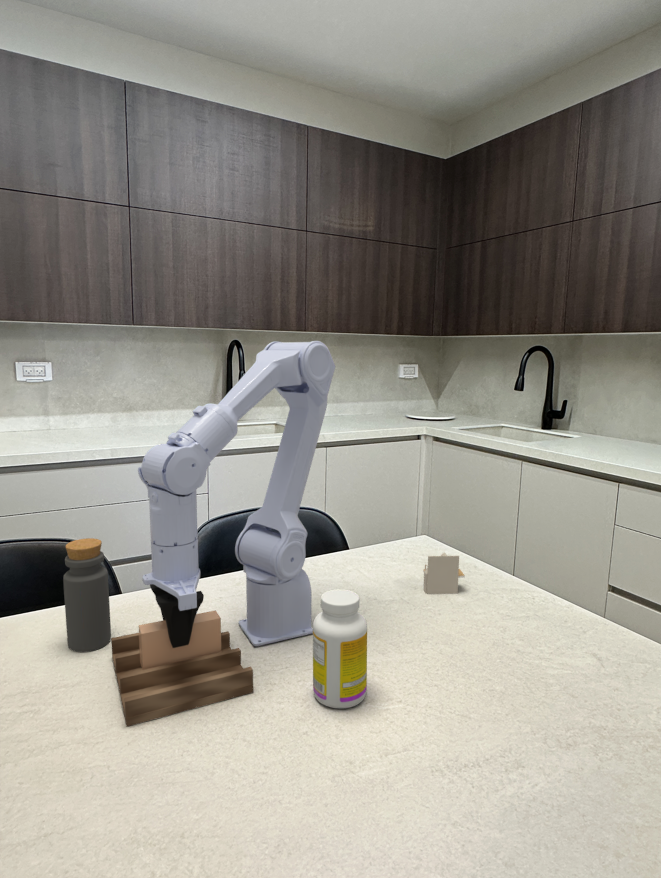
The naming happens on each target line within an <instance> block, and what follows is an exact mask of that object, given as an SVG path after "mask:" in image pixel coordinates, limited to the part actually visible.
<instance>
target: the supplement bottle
mask: <svg viewBox="0 0 661 878" xmlns="http://www.w3.org/2000/svg"><path fill="white" fill-rule="evenodd" d="M360 604H361V603H360V595H359V594H358V593H356V592H355V591H352V590H349V589H343V588H338V589H337V588H336V589H331V590H327V591H324V592H323V593H322V594H321V596H320V608H321V610H322V611H320V612H319V613H318V614H317V615H316V616H315V618H314V619H313V622H312V629H313V633H312V691H313V695H314V698H316V700H317V701H318V702H319V703H320V704H321V705H324V706H326V707H328V708H329V707H330V708H332V709H348V708H352V707H355V706H357V705H358V704H360V703H361V702H363V700H364V699H365V698H366V695H367V691H368V690H367V689H368V688H367V687H368V685H367V682H368V623H367V620H366V618H365V616H364V615H363V614H362V613H360V612H359V608H360Z"/></svg>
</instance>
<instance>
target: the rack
mask: <svg viewBox="0 0 661 878" xmlns="http://www.w3.org/2000/svg"><path fill="white" fill-rule="evenodd" d="M110 642H111V643H110V644H111V656H112V657H111V659H112V663H113V669H114V673H115V678H116V683H117V687H118V693H119V698H120V702H121V707H122V713H123V716H124V722H125V726H126V727H130V726H131V727H132V726H135V725H138V724H142V723H145V722H150V721H153V720H157V719H160V718H163V717H164V718H165V717H168V716H171V715H174V714H175V715H176V714H179V713H182V712H186V711H190V710H193V709H197V708H200V707H206V706H208V705H211V704H212V705H213V704H215V703H219V702H223V701H227V700H230V699H234V698H239V697H242V696H245V695H249V694H253V693H254V669H253V667H252V666H247V667H243V666H242V655H241V654H242V653H241V652H242V651H241V649H240V647H237V648H231V633H230V631H228V630H227V631H223V632H222V631H221V652H219V653H214V654H210V655H206V656H201V657H197V658H193V659H188V660H184V661H180V662H175V663H171V664H167V665H162V666H158V667H154V668H149V669H145V670H142V666H141V663H140V648H139V632H134V633H130V634H124V635H120V636H115V637H111V640H110Z"/></svg>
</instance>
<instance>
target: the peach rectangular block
mask: <svg viewBox="0 0 661 878" xmlns="http://www.w3.org/2000/svg"><path fill="white" fill-rule="evenodd" d="M221 620H222V618H221V617H220V614H219V613H218V612H217V610H211V611H206V612H199V613H196V616H195V619H194V623H193V628H192V633H191V638H190V642H189V645H185V646H181V647H176V648H173V647H172V645H171V642H170V639H169V635H168V629H167V624H166V620H163V619H162V620H159V621H154V622H149V623H143V624H138V633H139V648H140V663H141V666H142V670H145V669H149V668H154V667H158V666H162V665H167V664H171V663H175V662H180V661H184V660H188V659H193V658H197V657H201V656H206V655H210V654H214V653H219V652H221V633H222V625H221V623H222V622H221Z"/></svg>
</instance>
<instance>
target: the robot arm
mask: <svg viewBox="0 0 661 878" xmlns="http://www.w3.org/2000/svg"><path fill="white" fill-rule="evenodd" d="M255 356H256V357H255V362H254V363H253V364H252V366H251V367H249V368H248V370H247V371H246V372H245V373H244V374H243V376H241V377H240V379H239V380H238V381H237V382H236V384H234V385H233V387H232V388H231V389H230V390H229V391H228V392H227V393H226V395H225V396H224V397H223V398H222V399H221V400H220V401H219V402H218V403H211V402H210V403H206V404H204V405H197V406H196V407H195V408H194V409H193V410H192V413H193V415H192V416H191V417H190V418H189V419H188V420H187V421H186V422H185V423H184V424H183V425H181V427H180V428H179V429H178V430H177V431H176V432H171V433H170V434H169V435H168V436H167V441H166V443H160V444H156V445H153V446H152V447H151V448H150V449H149V450H148V451H147V452H146V453H145V455H144V456H143V458H142V459H143V460H142V462H141V466H140V467H137V473H138V476H139V479H140V481H141V482H142V483H143V484H144V485H145V487H146V489H147V497H148V498H147V499H149V502H148V505H149V526H150V527H149V528H150V532H149V534H150V553H151V554H150V555H151V572H149V573H146V574H145V573H144V574H143V575H142V579H141V580H142V583H143V585H146V586H149V587H150V589H151V591H152V593H153V595H154V596H155V601H156V603H157V605H158V607H159V609H160V613H161V617H162V621H163V620H166V624H167V629H168V635H169V639H170V642H171V645H172V647H173V648H176V647H181V646H185V645H189V642H190V638H191V633H192V628H193V623H194V619H195V616H196V614H198V611H199V609H200V607H201V605H202V603H203V602H204V597H205V596H204V593H203V591H202V590H198V591H197V588H198V585H199V581H200V578H201V569H200V568H199V539H198V536H199V534H198V507H197V506H198V505H197V503H198V502H197V500H198V499H197V497H198V496H197V495H198V494H197V490H198V489H199V488H201V487H202V486H203V484H204V482H205V479H206V476H207V470H208V469H209V467H210V466H211V462H212V461H213V460H214V459H215V458H216V457H217V456H218V455H219V454H220V453H221V452H222V450H224V449H225V447H226V446H227V445H228V444H229V443H230V442H232V440H233V439H234V438H235V437H236V436H237V434H238V429H239V428H238V422H239V420H240V419H242V418H243V417H244V416H245V415H247V414H248V413H249V411H251V410H252V409H253V408H254V407H255V406H256V405H257V404H259V402H260V401H262V400H263V399H264V398H265V397H267V395H268V394H270V393H271V392H272V391H273V390H274V389H275V391H277V393H279V395H280V397H281V398H283V399H284V400H285V401H286V403H287V406H288V408H289V411H288V415H287V418H286V422H285V424H284V429H283V432H282V436H281V438H280V442H279V445H278V446H279V447H278V450H277V453H276V456H275V461H274V464H273V468H272V471H271V475H270V479H269V481H268V485H267V488H266V489H267V490H266V493H265V495H264V499H263V504H262V506H261V507H260V508H259V509H257V510H255V511H254V512H253V513H251V514H250V515H248V517H247V520H246V523H245V525H244V527H243V530H242V531H241V532H240V533H239V535H238V537H237V538H236V542H235V545H234V546H235V547H234V554H235V557H236V559H237V561H238V562H239V563H240V564H241V565H242V566H243V573H245V575H246V577H245V579H246V580H245V581H246V583H245V584H246V585H245V586H246V592H245V593H246V618H244V619H239V620H238V625H239V627H240V628H241V630H242V631H243V633H244V634H245V636H246V637H247V638H248V640H249V641H250V643H251V644H252V646H254V647H259V646H264V645H268V644H273V643H277V642H281V641H286V640H290V639H294V638H298V637H302V636H306V635H307V636H308V635H310V634H312V635H313V627H312V587H311V581H310V578H309V575H308V574H307V572H306V571H305V570H304V569H303V567H304V564H305V561H306V556H307V554H306V541H307V537H308V531H307V529H306V527H305V526H304V525H303V523H302V521H301V520H300V518H299V516H298V515H299V511H300V508H301V504H302V500H303V497H304V492H305V489H306V485H307V482H308V477H309V475H310V471H311V466H312V463H313V460H314V455H315V453H316V448H317V445H318V441H319V438H320V434H321V430H322V426H323V423H324V419H325V415H326V411H327V407H328V395H329V391H330V388H331V384H332V380H333V377H334V373H335V370H336V364H335V360H334V358H333V356H332V354H331V352H330V349H329V348H328V346H327V345H326V343H324V342H322V341H320V340H312V341H294V342H289V341H288V342H287V341H286V342H285V341H284V342H282V341H281V340H280V341H278V340H277V341H276V340H275V341H271V342H270V343H268V344H266V346H265V347H264V348H263V350H261V351H259V352H257V353H256V355H255ZM272 529H273V530H276V531H278V532H276V531H273V530H272Z"/></svg>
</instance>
